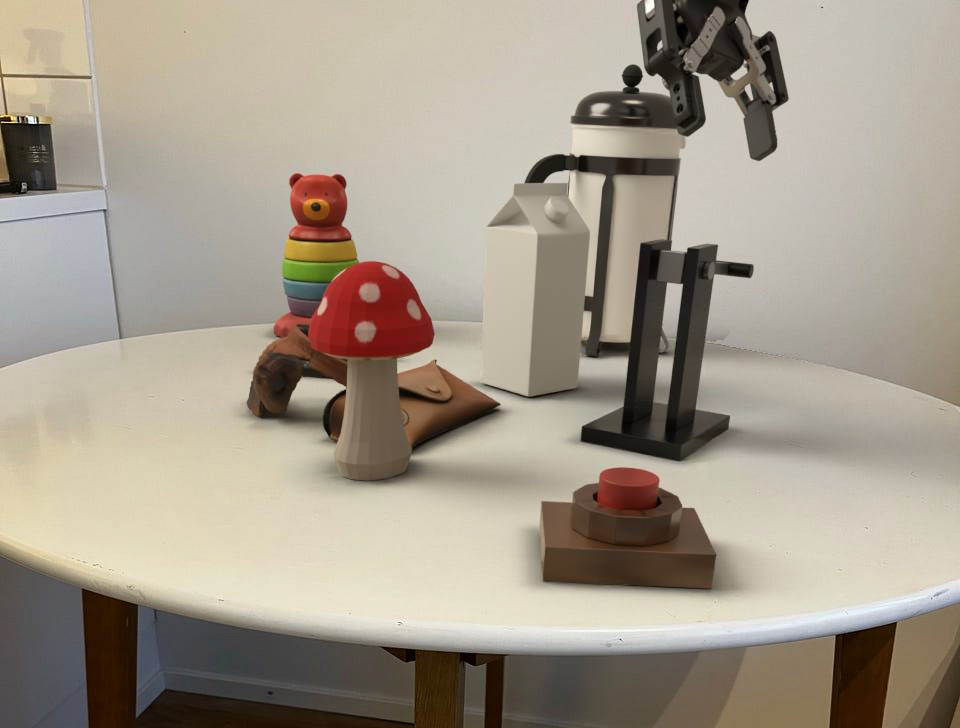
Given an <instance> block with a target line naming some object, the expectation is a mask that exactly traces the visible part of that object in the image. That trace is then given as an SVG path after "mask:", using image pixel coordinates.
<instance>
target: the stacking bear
mask: <svg viewBox="0 0 960 728" xmlns="http://www.w3.org/2000/svg"><path fill="white" fill-rule="evenodd" d="M288 181H289V182H288V185H289V186H290V188H291V189H290V190H291V191H290V196H289V203H290V209H291V213H292V216H293V218H294V219H295V221H296V223H297V225H295V226H294V227H292V228H291V230H289V233H288V238H287V239H286V240H285V245H284V253H283V257H284V258H283V260H282V266H281V269H282V270H281V271H282V272H281V275H282V277H283V278H282V285H283V290H284V295H286V301H287V305H288V308H289V312H287V313H286V314H284V315H282V316H280V318H279V319H277V320H276V321H275V323H274V325H273V334H274V335H275V336H277V337H280V338H283V337H287V336H288V335H289V333H290V331H291V329H292V327H293V326H297V324H303V325H310V322H311V318H312V316H313V314H314V313H315V311H316V309H317V308H318V306H319V305H320V303H321V301H322V298H323V295H324V293H325V291H326V289H327V287H328V285H329V284H330V283H331V281H332V280H333V279H334V278H335V277H336V276H337V275H338V274H339V273H340V272H342V271H343V270H345V269H346V268H348V267H350V266H352V265H354V264H357V263H360V261H359V259H358V252H357V247H356V244H355V242H354V239H353V238H352V237H353V235H352V233H351V232H350V230H349V229H348V228H347V227H345V226H344V225H343V223H344V222H345V218H346V215H347V211H348V197H347V193H346V188H347V184H348V183H347V180H346V178H345V177H344V176H343V175H342V174H340V173H335V174H333V175H332V176H331V175H326V174H307V175H303V174H302V173H299V172H296V173H293V174H292V175H291V176H290V178H289V180H288Z"/></svg>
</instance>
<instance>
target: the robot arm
mask: <svg viewBox="0 0 960 728" xmlns="http://www.w3.org/2000/svg"><path fill="white" fill-rule="evenodd" d="M749 3H750V0H640V1H638V3H637V4H636V11H637V21H638V26H639V27H638V28H639V37H640V44H641V45H640V46H641V53H642V60H643V67H644V70H645V72H646V74H647V75H648V76H649V77H655V76H656V75H658V76H659V77H661V82H662V85H663V87H664V88H665V89H666V90H667V91H668V92H669V97H670V98H671V104H672V110H673V116H674V120H675V122H676V125H677V130H678V133H679V134H680V135H683V136H685V138H686V137H687V138H688V137H690V136H691V135H693V134H694V133H696V132H697V131H699V130H701V128H702V127H704V126H705V124H706V120H707V117H706V116H707V115H706V110H705V105H704V100H703V99H704V98H703V93H702V87H701V81H700V76H699V75H707V76H708V77H710V78H712V80H714V81H717V83H718V86H720V88H721V90H722V92H723V93H724V95H725V96H726V97H727V98H733V99H734V101H735V102H736V104H737V106H738V108H739V109H740V111H741V112H742V115H743V118H742V119H743V123H744V124H743V125H744V130H745V135H746V137H745V138H746V142H747V149H748V154H749V158H750V159H751V160H754V161H756V162H760V161H763V160H764V159H765V158H768V157H769V156H771V154H773V153H775V152H776V150H777V148H778V136H777V130H776V126H775V125H776V124H775V119H774V114H773V113H774V111H775V110H777V109H778V108H780V107H781V106H782V105H785V104H786V103H787V102H788V101H789V99H790V98H789V97H790V96H789V92H788V88H787V87H788V86H787V82H786V78H785V74H784V69H783V65H782V59H781V55H780V54H781V53H780V51H779V45H778V40H777V37H776V35H775V34H774V32H772V31H771V30H768V31H767V32H765V33H764V34H763V35H761V36H758V35H756V34H753V30H752V29H751V26H750V24H749V21H748V19H747V16H746V10H747V7H748V4H749ZM660 42H661V45H662V47H660V48H659V49H658V45H659V44H660ZM742 67H743V68H744V69H746V73H745V74H743V75H742V76H741V77H739V78H738V79H734V78H733V77H732V75H734V74H735V73H736V72H738V71H739V70H740V69H741V68H742ZM695 73H697V74H699V75H696V74H695ZM748 85H749V86H750V91H751V96H752V99H751V98H750V96H749V94H748V93H747V91H746V89H745V88H746V87H747V86H748ZM771 85H772V87H771Z"/></svg>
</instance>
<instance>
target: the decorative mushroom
mask: <svg viewBox="0 0 960 728" xmlns="http://www.w3.org/2000/svg"><path fill="white" fill-rule="evenodd" d="M434 329H435V328H434V324H433V320H432V318H431V316H430V314H429V313H428V311H427V309H426V307H425V306H424V304H423V302H422V300H421V298H420V295H419V292H418V290H417V289H416V287H415V285H414V283H413V282H412V281H411V279H410V278H409V277H408V276H407V275H406V274H405V273H404V272H403V271H402V270H400V269H398V268H397V267H395V266H392V265H391V264H389V263H386V262H382V261H376V260H366V261H362V262H359V263H357V264H354V265H352V266H350V267H348V268H346V269H345V270H343V271H342V272H340V273H339V274H338V275H337V276H336V277H335V278H334V279H333V280H332V281H331V283H330V284H329V285H328V287H327V289H326V291H325V293H324V295H323V298H322V301H321V303H320V305H319V306H318V308H317V309H316V311H315V313H314V314H313V316H312V318H311V322H310V327H309V331H308V335H309V340H310V345H311V348H313V349H315V350H317V351H319V352H322V353H324V354H326V355H329V356H332V357H336V358H341V359H347V362H348V368H347V389H346V388H345V389H346V402H345V410H344V418H343V424H342V429H341V434H340V437H339V440H338V441H337V443H336V446H335V448H334V451H333V459H334V461H335V464H336V467H337V470H338V473H339V474H340V475H341V476H342V477H344V478H346V479H350V480H356V481H376V480H384V479H385V480H386V479H390V478H393V477H395V476H399V475H401V474H403V473H404V472H405V471H406V470H407V469H408V466H409V463H410V459H411V456H412V454H413V453H412V452H413V448H411V445H410V442H409V440H408V437H407V435H406V432H405V429H404V424H403V419H402V413H401V406H400V399H399V388H398V373H399V372H398V359H401V358H406V357H410V356H412V355H415V354H418V353H420V352H422V351H423V350H427V349H429V348H431V346H432V345H433V343H434V338H435V335H436V333H435V330H434Z"/></svg>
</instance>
